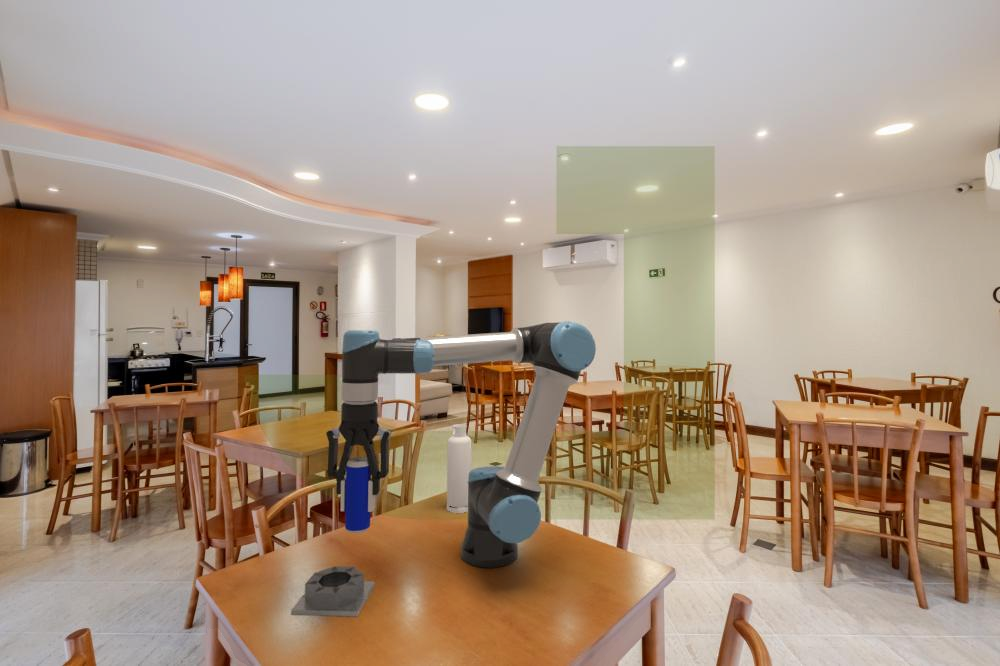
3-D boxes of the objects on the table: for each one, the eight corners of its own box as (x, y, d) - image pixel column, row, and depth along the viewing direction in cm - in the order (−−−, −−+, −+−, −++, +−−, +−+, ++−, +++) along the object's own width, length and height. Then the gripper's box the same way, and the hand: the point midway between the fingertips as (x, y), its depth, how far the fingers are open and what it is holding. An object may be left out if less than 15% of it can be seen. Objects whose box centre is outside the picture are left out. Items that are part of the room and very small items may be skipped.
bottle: (473, 512, 157) (474, 427, 157) (449, 514, 155) (449, 428, 155) (468, 503, 165) (468, 422, 165) (444, 505, 163) (445, 423, 163)
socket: (374, 585, 112) (374, 566, 112) (357, 616, 100) (357, 594, 100) (315, 584, 112) (315, 565, 112) (291, 614, 100) (291, 593, 100)
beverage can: (374, 528, 103) (376, 459, 103) (353, 536, 99) (354, 464, 99) (361, 522, 107) (362, 455, 107) (340, 529, 103) (341, 459, 103)
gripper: (405, 399, 107) (403, 503, 107) (324, 398, 107) (322, 502, 107) (398, 404, 99) (396, 516, 99) (310, 403, 99) (308, 515, 99)
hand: (357, 509), depth 103 cm, fingers closed on beverage can, 5 cm apart
